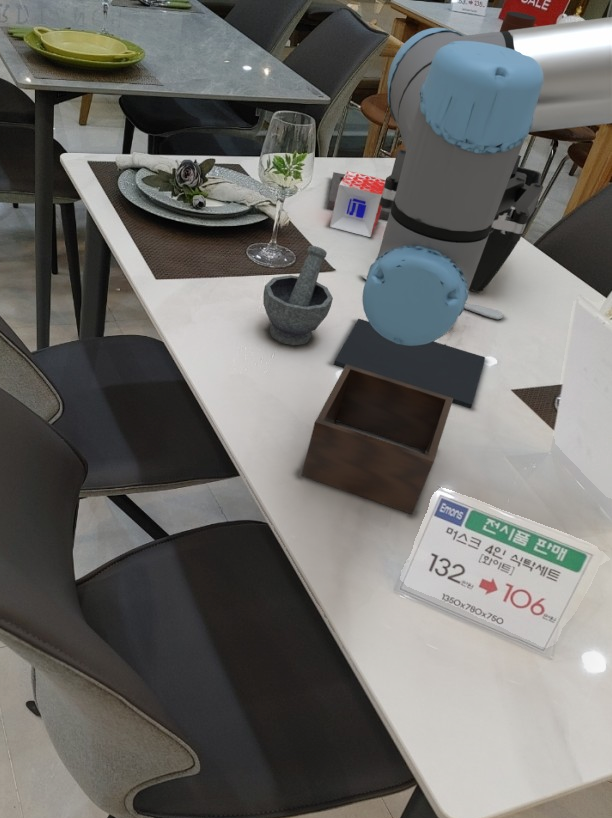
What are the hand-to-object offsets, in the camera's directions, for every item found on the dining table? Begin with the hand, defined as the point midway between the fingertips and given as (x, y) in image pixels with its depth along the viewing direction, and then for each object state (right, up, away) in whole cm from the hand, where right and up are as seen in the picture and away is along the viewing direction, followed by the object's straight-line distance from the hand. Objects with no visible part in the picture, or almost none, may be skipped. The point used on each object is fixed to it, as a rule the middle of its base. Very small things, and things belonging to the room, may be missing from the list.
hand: (475, 158), depth 83 cm
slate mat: (0, -16, +29) cm, 33 cm away
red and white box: (-3, +17, +63) cm, 65 cm away
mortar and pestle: (-17, -12, +31) cm, 38 cm away
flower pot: (+13, +5, +54) cm, 56 cm away
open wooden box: (-9, -32, +11) cm, 35 cm away
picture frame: (+4, +25, +73) cm, 77 cm away
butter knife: (+7, -2, +45) cm, 46 cm away
